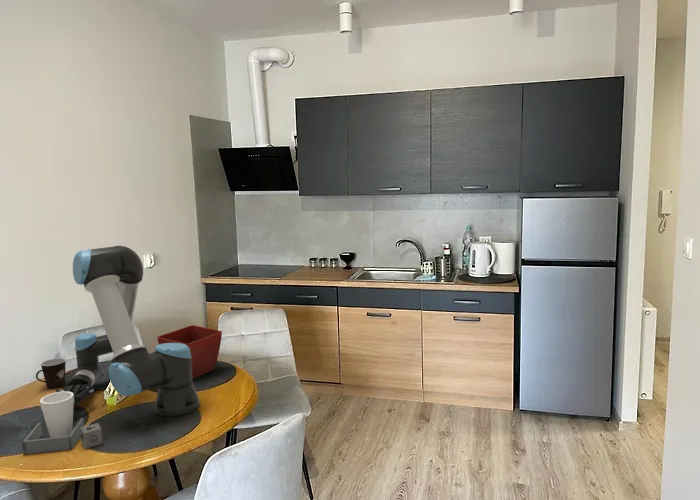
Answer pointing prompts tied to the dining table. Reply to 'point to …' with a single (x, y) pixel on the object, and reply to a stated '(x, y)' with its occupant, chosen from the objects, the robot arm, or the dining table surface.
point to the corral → (50, 440)
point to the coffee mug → (53, 373)
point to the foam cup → (58, 413)
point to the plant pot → (197, 346)
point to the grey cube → (91, 435)
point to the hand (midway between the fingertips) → (59, 410)
